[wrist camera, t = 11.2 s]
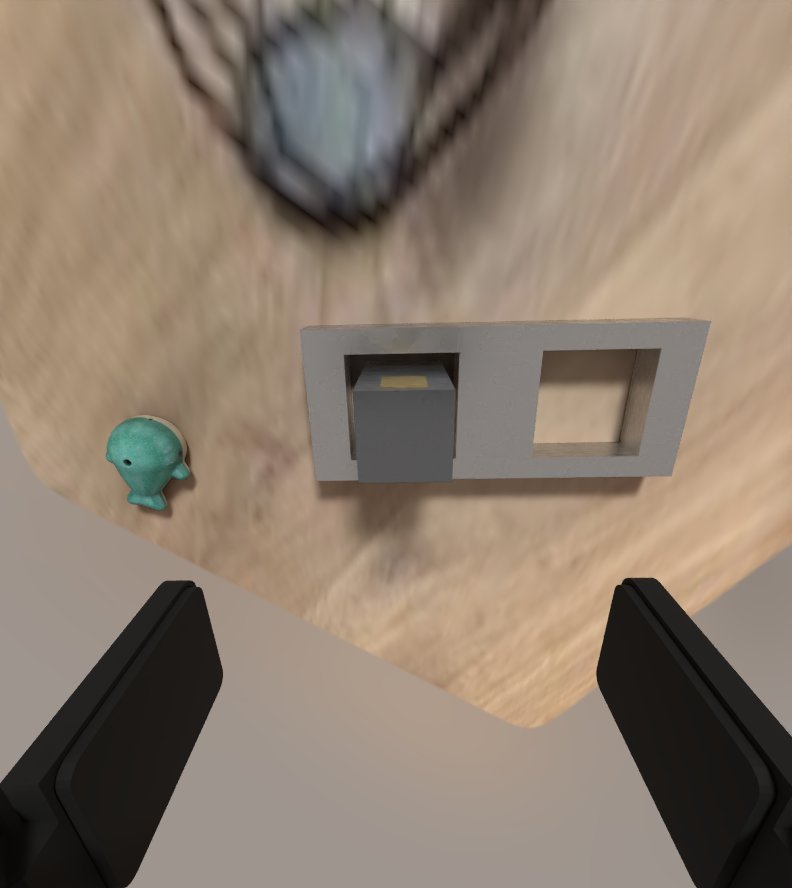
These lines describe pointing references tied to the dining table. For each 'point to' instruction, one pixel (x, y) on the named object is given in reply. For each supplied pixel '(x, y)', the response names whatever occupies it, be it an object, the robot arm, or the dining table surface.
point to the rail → (513, 393)
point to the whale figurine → (148, 458)
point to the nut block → (404, 422)
